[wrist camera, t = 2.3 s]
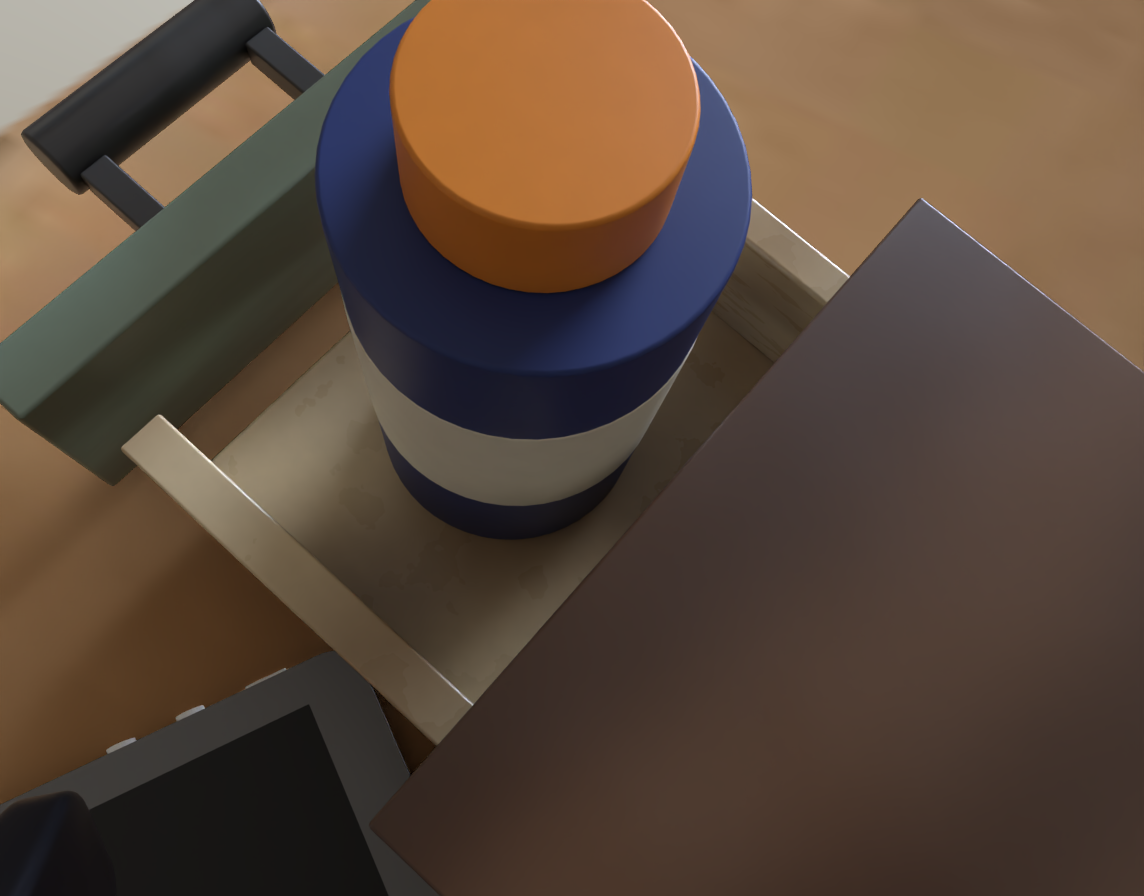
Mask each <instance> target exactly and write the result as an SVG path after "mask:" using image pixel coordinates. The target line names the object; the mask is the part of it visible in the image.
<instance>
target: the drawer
mask: <svg viewBox="0 0 1144 896" xmlns="http://www.w3.org/2000/svg"><path fill="white" fill-rule="evenodd" d="M430 1H431V0H415V1H414V2H413V3H412V4H410V5H409V6H408V7H407V8H406V9H404V10H403V11H402V12H401V13H400V14H398V15H397V16H396V17H395V18H393V19H392V20H391V21H390V22H389V23H387V24H386V25H385V26H384V27H383V28H381V29H380V30H379V31H378V32H377V33H375V34H374V35H373V36H372V37H370V38H369V39H368V40H367V41H366V42H364V43H363V44H362V45H361V46H360V47H358V48H357V49H356V50H355V51H354V52H352V53H351V54H350V55H349V56H347V57H346V58H345V59H344V60H343V61H341V62H340V63H339V64H338V65H337V66H335V67H334V68H333V69H332V70H331V71H329V72H328V73H327V74H326V75H324V74H323V73H322V72H321V71H319V70H318V69H317V68H316V67H315V66H314V65H312V64H311V63H310V62H309V61H308V60H306V59H305V58H304V57H303V56H302V55H300V54H299V53H298V52H297V51H296V50H295V49H293V48H292V47H291V46H290V45H289V44H287V43H286V42H285V41H284V40H283V39H281V38H280V37H279V36H278V35H277V34H276V30H275V27H274V24H273V22H272V20H271V18H270V16H269V14H268V12H267V11H266V9H265V8H264V6H263V5H262V3H261V2H260V1H259V0H194V1H193V2H192V3H190V4H189V5H188V6H186V7H185V8H184V9H182V10H181V11H180V12H178V13H177V14H176V15H175V16H173V17H172V18H171V19H169V20H168V21H167V22H165V23H164V24H163V25H161V26H160V27H159V28H157V29H156V30H155V31H153V32H152V33H151V34H149V35H148V36H147V37H146V38H144V39H143V40H142V41H140V42H139V43H138V44H136V45H135V46H134V47H132V48H131V49H130V50H128V51H127V52H126V53H124V54H123V55H122V56H120V57H119V58H118V59H117V60H115V61H114V62H113V63H111V64H110V65H109V66H107V67H106V68H105V69H103V70H102V71H101V72H99V73H98V74H97V75H95V76H94V77H93V78H91V79H90V80H89V81H88V82H86V83H85V84H84V85H82V86H81V87H80V88H78V89H77V90H76V91H74V92H73V93H72V94H70V95H69V96H68V97H66V98H65V99H64V100H62V101H61V102H60V103H59V104H57V105H56V106H55V107H53V108H52V109H51V110H49V111H48V112H47V113H45V114H44V115H43V116H41V117H40V118H39V119H37V120H36V121H35V122H33V123H32V124H31V125H30V126H28V127H27V128H26V129H24V130H23V132H22V134H21V135H22V138H23V140H24V142H25V143H26V145H27V146H28V147H29V149H30V150H31V151H32V152H33V153H34V155H35V156H36V157H37V158H38V159H39V160H40V161H41V162H42V164H43V165H44V166H45V167H46V168H47V169H48V170H49V171H50V172H51V173H52V174H53V175H54V176H55V177H56V178H57V179H58V180H59V181H60V182H61V183H63V184H64V185H65V186H66V187H67V188H68V189H70V190H71V191H72V192H74V193H76V194H78V195H80V194H83V193H85V192H86V191H87V190H88V189H90V190H91V191H92V192H93V193H94V194H95V195H96V196H97V197H98V198H99V199H100V200H102V201H103V202H104V203H105V204H106V205H107V206H108V207H109V208H110V209H112V210H113V211H114V212H115V213H116V214H117V215H118V216H119V217H120V218H122V219H123V220H124V221H125V222H126V223H127V224H128V225H129V226H131V227H132V228H133V229H134V230H135V231H136V232H134V233H133V234H132V235H131V236H130V237H128V238H127V239H126V240H125V241H124V242H122V243H121V244H120V245H119V246H118V247H116V248H115V249H114V250H113V251H111V252H110V253H109V254H108V255H107V256H105V257H104V258H103V259H102V260H101V261H99V262H98V263H97V264H96V265H95V266H93V267H92V268H91V269H90V270H88V271H87V272H86V273H85V274H84V275H82V276H81V277H80V278H79V279H78V280H76V281H75V282H74V283H73V284H72V285H70V286H69V287H68V288H67V289H65V290H64V291H63V292H62V293H61V294H59V295H58V296H57V297H56V298H55V299H53V300H52V301H51V302H50V303H49V304H47V305H46V306H45V307H44V308H42V309H41V310H40V311H39V312H38V313H36V314H35V315H34V316H33V317H32V318H30V319H29V320H28V321H27V322H26V323H24V324H23V325H22V326H21V327H19V328H18V329H17V330H16V331H15V332H13V333H12V334H11V335H10V336H9V337H7V338H6V339H5V340H4V341H3V342H1V343H0V404H1V405H2V406H3V407H4V408H5V409H6V410H8V411H9V412H10V413H11V414H12V415H13V416H14V417H15V418H16V419H17V420H19V421H20V422H21V423H23V424H24V425H26V426H27V427H28V428H30V429H31V430H33V431H34V432H35V433H37V434H38V435H40V436H41V437H43V438H44V439H45V440H47V441H48V442H50V443H51V444H52V445H54V446H55V447H57V448H58V449H59V450H61V451H62V452H64V453H65V454H66V455H68V456H69V457H71V458H72V459H74V460H75V461H76V462H78V463H79V464H81V465H82V466H83V467H85V468H86V469H88V470H89V471H90V472H92V473H93V474H95V475H96V476H97V477H99V478H100V479H102V480H103V481H105V482H106V483H107V484H109V485H111V486H115V485H116V484H117V483H119V482H120V481H121V480H122V479H123V478H124V477H125V476H126V475H127V474H128V473H130V472H131V471H132V470H133V469H134V468H135V467H136V466H138V467H139V468H140V469H141V470H142V471H143V472H144V473H145V474H147V475H148V476H149V477H150V478H151V479H152V480H153V481H154V482H155V483H156V484H157V485H158V486H159V487H160V488H161V489H163V490H164V491H165V492H166V493H167V494H168V495H169V496H170V497H171V498H172V499H173V500H174V501H175V502H176V503H177V504H179V505H180V506H181V507H182V508H183V509H184V510H185V511H186V512H187V513H188V514H189V515H190V516H191V517H192V518H193V519H195V520H196V521H197V522H198V523H199V524H200V525H201V526H202V527H203V528H204V529H205V530H206V531H207V532H208V533H209V534H211V535H212V536H213V537H214V538H215V539H216V540H217V541H218V542H219V543H220V544H221V545H222V546H223V547H224V548H225V549H227V550H228V551H229V552H230V553H231V554H232V555H233V556H234V557H235V558H236V559H237V560H238V561H239V562H240V563H241V564H243V565H244V566H245V567H246V568H247V569H248V570H249V571H250V572H251V573H252V574H253V575H254V576H255V577H256V578H257V579H259V580H260V581H261V582H262V583H263V584H264V585H265V586H266V587H267V588H268V589H269V590H270V591H271V592H272V593H273V594H275V595H276V596H277V597H278V598H279V599H280V600H281V601H282V602H283V603H284V604H285V605H286V606H287V607H288V608H289V609H291V610H292V611H293V612H294V613H295V614H296V615H297V616H298V617H299V618H300V619H301V620H302V621H303V622H304V623H305V624H307V625H308V626H309V627H310V628H311V629H312V630H313V631H314V632H315V633H316V634H317V635H318V636H319V637H320V638H321V639H323V640H324V641H325V642H326V643H327V644H328V645H329V646H330V647H331V648H332V649H333V650H334V651H335V652H336V653H337V654H339V655H340V656H341V657H342V658H343V659H344V660H345V661H346V662H347V663H348V664H349V665H350V666H351V667H352V668H353V669H355V670H356V671H357V672H358V673H359V674H360V675H361V676H362V677H363V678H364V679H365V680H366V681H367V682H368V683H369V684H371V685H372V686H373V687H374V688H375V689H376V690H377V691H378V692H379V693H380V694H381V695H382V696H383V697H384V698H385V699H387V700H388V701H389V702H390V703H391V704H392V705H393V706H394V707H395V708H396V709H397V710H398V711H399V712H400V713H401V714H403V715H404V716H405V717H406V718H407V719H408V720H409V721H410V722H411V723H412V724H413V725H414V726H415V727H416V728H417V729H419V730H420V731H421V732H422V733H423V734H424V735H425V736H426V737H427V738H428V739H429V740H430V741H431V742H432V743H433V744H435V745H436V746H437V745H438V744H439V743H440V742H441V741H442V739H443V738H444V737H445V736H446V735H447V734H448V733H449V731H450V730H451V729H452V728H453V727H454V726H455V725H456V724H457V722H458V721H459V720H460V719H461V718H462V717H463V716H464V714H465V713H466V712H467V711H468V710H469V709H470V708H471V706H472V705H473V704H474V703H475V702H476V701H477V700H478V699H479V697H480V696H481V695H482V694H483V693H484V692H485V691H486V689H487V688H488V687H489V686H490V685H491V684H492V683H493V682H494V680H495V679H496V678H497V677H498V676H499V675H500V674H501V672H502V671H503V670H504V669H505V668H506V667H507V666H508V664H509V663H510V662H511V661H512V660H513V659H514V658H515V657H516V655H517V654H518V653H519V652H520V651H521V650H522V649H523V647H524V646H525V645H526V644H527V643H528V642H529V641H530V639H531V638H532V637H533V636H534V635H535V634H536V633H537V632H538V630H539V629H540V628H541V627H542V626H543V625H544V624H545V622H546V621H547V620H548V619H549V618H550V617H551V616H552V615H553V613H554V612H555V611H556V610H557V609H558V608H559V607H560V605H561V604H562V603H563V602H564V601H565V600H566V599H567V597H568V596H569V595H570V594H571V593H572V592H573V591H574V590H575V588H576V587H577V586H578V585H579V584H580V583H581V582H582V580H583V579H584V578H585V577H586V576H587V575H588V574H589V572H590V571H591V570H592V569H593V568H594V567H595V566H596V565H597V563H598V562H599V561H600V560H601V559H602V558H603V557H604V555H605V554H606V553H607V552H608V551H609V550H610V549H611V548H612V546H613V545H614V544H615V543H616V542H617V541H618V540H619V538H620V537H621V536H622V535H623V534H624V533H625V532H626V530H627V529H628V528H629V527H630V526H631V525H632V524H633V523H634V521H635V520H636V519H637V518H638V517H639V516H640V515H641V513H642V512H643V511H644V510H645V509H646V508H647V507H648V505H649V504H650V503H651V502H652V501H653V500H654V499H655V498H656V496H657V495H658V494H659V493H660V492H661V491H662V490H663V488H664V487H665V486H666V485H667V484H668V483H669V482H670V480H671V479H672V478H673V477H674V476H675V475H676V474H677V473H678V471H679V470H680V469H681V468H682V467H683V466H684V465H685V463H686V462H687V461H688V460H689V459H690V458H691V457H692V456H693V454H694V453H695V452H696V451H697V450H698V449H699V448H700V446H701V445H702V444H703V443H704V442H705V441H706V440H707V438H708V437H709V436H710V435H711V434H712V433H713V432H714V431H715V429H716V428H717V427H718V426H719V425H720V424H721V423H722V421H723V420H724V419H725V418H726V417H727V416H728V415H729V413H730V412H731V411H732V410H733V409H734V408H735V407H736V406H737V404H738V403H739V402H740V401H741V400H742V399H743V398H744V396H745V395H746V394H747V393H748V392H749V391H750V390H751V389H752V387H753V386H754V385H755V384H756V383H757V382H758V381H759V379H760V378H761V377H762V376H763V375H764V374H765V373H766V371H767V370H768V369H769V368H770V367H771V366H772V365H773V364H774V362H775V361H776V360H777V359H778V358H779V357H780V356H781V354H782V353H783V352H784V351H785V350H786V349H787V348H788V346H789V345H790V344H791V343H792V342H793V341H794V340H795V339H796V337H797V336H798V335H799V334H800V333H801V332H802V331H803V329H804V328H805V327H806V326H807V325H808V324H809V323H810V322H811V320H812V319H813V318H814V317H815V316H816V315H817V314H818V312H819V311H820V310H821V309H822V308H823V307H824V306H825V304H826V303H827V302H828V301H829V300H830V299H831V298H832V297H833V295H834V294H835V293H836V292H837V291H838V290H839V289H840V287H841V286H842V285H843V284H844V283H845V282H846V281H847V279H848V278H849V277H850V276H849V275H848V274H846V273H845V272H844V271H843V270H842V269H840V268H839V267H838V266H837V265H835V264H834V263H833V262H832V261H830V260H829V259H828V258H827V257H825V256H824V255H823V254H822V253H820V252H819V251H818V250H817V249H815V248H814V247H813V246H812V245H810V244H809V243H808V242H807V241H805V240H804V239H803V238H802V237H801V236H799V235H798V234H797V233H796V232H794V231H793V230H792V229H791V228H789V227H788V226H787V225H786V224H784V223H783V222H782V221H781V220H779V219H778V218H777V217H776V216H774V215H773V214H772V213H771V212H769V211H768V210H767V209H766V208H765V207H763V206H762V205H761V204H760V203H758V202H757V201H756V200H755V199H753V198H752V204H751V216H750V224H749V228H748V232H747V236H746V241H745V245H744V248H743V250H742V253H741V255H740V258H739V260H738V263H737V265H736V268H735V270H734V272H733V273H732V275H731V277H730V279H729V281H728V282H727V284H726V286H725V288H724V290H723V291H722V293H721V295H720V297H719V299H718V300H717V302H716V304H715V306H714V308H713V309H712V311H711V313H710V315H709V317H708V318H707V320H706V322H705V324H704V326H703V327H702V329H701V331H700V333H699V335H698V337H697V339H696V342H695V344H694V347H693V349H692V350H691V352H690V354H689V356H688V358H687V359H686V361H685V363H684V365H683V366H682V368H681V370H680V372H679V374H678V375H677V377H676V379H675V381H674V383H673V384H672V386H671V388H670V390H669V392H668V393H667V395H666V397H665V399H664V400H663V402H662V404H661V406H660V408H659V409H658V411H657V413H656V415H655V417H654V418H653V420H652V422H651V424H650V425H649V427H648V429H647V431H646V432H645V434H644V436H643V438H642V439H641V441H640V443H639V444H638V446H637V447H636V448H635V450H634V452H633V454H632V455H631V457H630V459H629V461H628V463H627V464H626V466H625V468H624V470H623V472H622V473H621V475H620V477H619V478H618V480H617V482H616V484H615V485H614V487H613V488H612V489H611V491H610V492H609V493H608V494H607V496H606V497H605V498H604V499H603V500H602V501H601V502H600V503H599V504H598V505H597V506H596V507H595V508H594V509H593V510H592V511H591V512H589V513H588V514H586V515H585V516H584V517H582V518H581V519H580V520H578V521H576V522H574V523H573V524H571V525H569V526H567V527H565V528H563V529H560V530H558V531H555V532H553V533H550V534H546V535H542V536H538V537H534V538H526V539H517V540H508V539H493V538H487V537H481V536H477V535H474V534H470V533H467V532H464V531H462V530H460V529H457V528H455V527H453V526H450V525H449V524H447V523H445V522H443V521H442V520H440V519H438V518H437V517H435V516H434V515H433V514H431V513H430V512H429V511H428V510H426V509H425V508H424V507H423V506H422V505H421V504H420V503H419V502H418V501H417V500H416V499H415V498H414V497H413V496H412V495H411V494H410V493H409V491H408V490H407V489H406V487H405V486H404V484H403V483H402V482H401V480H400V478H399V476H398V475H397V473H396V471H395V469H394V467H393V465H392V462H391V459H390V457H389V454H388V451H387V448H386V444H385V441H384V438H383V434H382V431H381V427H380V424H379V420H378V417H377V415H376V412H375V409H374V407H373V404H372V401H371V397H370V394H369V391H368V387H367V384H366V380H365V377H364V374H363V370H362V367H361V364H360V360H359V357H358V353H357V350H356V347H355V343H354V340H353V336H352V333H351V330H350V331H349V332H348V333H347V334H346V335H345V336H344V337H343V338H342V339H341V340H339V341H338V342H337V343H336V344H335V345H334V346H333V347H332V348H331V349H330V350H329V351H328V352H327V353H326V354H324V355H323V356H322V357H321V358H320V359H319V360H318V361H317V362H316V363H315V364H314V365H313V366H312V367H311V368H309V369H308V370H307V371H306V372H305V373H304V374H303V375H302V376H301V377H300V378H299V379H298V380H297V381H296V382H295V383H293V384H292V385H291V386H290V387H289V388H288V389H287V390H286V391H285V392H284V393H283V394H282V395H281V396H280V397H278V398H277V399H276V400H275V401H274V402H273V403H272V404H271V405H270V406H269V407H268V408H267V409H266V410H265V411H263V412H262V413H261V414H260V415H259V416H258V417H257V418H256V419H255V420H254V421H253V422H252V423H251V424H250V425H248V426H247V427H246V428H245V429H244V430H243V431H242V432H241V433H240V434H239V435H238V436H237V437H236V438H235V439H234V440H232V441H231V442H230V443H229V444H228V445H227V446H226V447H225V448H224V449H223V450H222V451H221V452H220V453H219V454H217V455H216V456H215V457H214V458H213V459H212V460H210V459H208V458H207V457H206V456H205V455H204V454H203V453H202V452H201V451H200V450H199V449H198V448H197V447H195V446H194V445H193V444H192V443H191V442H190V441H189V440H188V439H187V438H186V437H185V436H184V435H182V434H181V433H180V432H179V431H178V430H177V429H178V428H179V427H180V426H181V425H182V424H183V423H184V422H185V421H187V420H188V419H189V418H190V417H191V416H192V415H193V414H194V413H195V412H196V411H198V410H199V409H200V408H201V407H202V406H203V405H204V404H205V403H206V402H207V401H209V400H210V399H211V398H212V397H213V396H214V395H215V394H216V393H217V392H218V391H220V390H221V389H222V388H223V387H224V386H225V385H226V384H227V383H228V382H229V381H230V380H232V379H233V378H234V377H235V376H236V375H237V374H238V373H239V372H240V371H241V370H243V369H244V368H245V367H246V366H247V365H248V364H249V363H250V362H251V361H252V360H254V359H255V358H256V357H257V356H258V355H259V354H260V353H261V352H262V351H263V350H265V349H266V348H267V347H268V346H269V345H270V344H271V343H272V342H273V341H274V340H275V339H277V338H278V337H279V336H280V335H281V334H282V333H283V332H284V331H285V330H286V329H288V328H289V327H290V326H291V325H292V324H293V323H294V322H295V321H296V320H297V319H299V318H300V317H301V316H302V315H303V314H304V313H305V312H306V311H307V310H308V309H309V308H311V307H312V306H313V305H314V304H315V303H316V302H317V301H318V300H319V299H320V298H322V297H323V296H324V295H325V294H326V293H327V292H328V291H329V290H330V289H331V288H333V287H334V286H335V285H336V284H337V283H338V279H337V276H336V272H335V269H334V266H333V262H332V259H331V255H330V252H329V248H328V245H327V242H326V238H325V235H324V231H323V228H322V224H321V219H320V215H319V210H318V206H317V201H316V190H315V175H314V174H315V162H316V150H317V145H318V141H319V137H320V132H321V128H322V124H323V122H324V119H325V117H326V114H327V112H328V109H329V107H330V104H331V102H332V100H333V98H334V96H335V94H336V93H337V91H338V89H339V88H340V86H341V84H342V83H343V81H344V79H345V77H346V76H347V75H348V74H349V72H350V71H351V70H352V69H353V67H354V66H355V65H356V64H357V62H358V61H359V60H360V59H361V57H362V56H363V55H364V54H365V53H366V52H368V51H369V50H370V49H371V48H372V47H373V46H374V45H375V44H376V43H377V42H378V41H379V40H380V39H382V38H383V37H384V36H386V35H387V34H388V33H390V32H391V31H393V30H394V29H395V28H397V27H398V26H399V25H401V24H403V23H405V22H406V21H408V20H410V19H412V18H414V17H415V16H417V14H418V13H419V12H420V11H421V9H422V8H423V7H424V6H426V5H427V4H428V3H429V2H430ZM250 60H251V63H252V64H253V65H254V66H255V67H257V68H258V69H259V70H260V71H261V72H262V73H264V74H265V75H266V76H267V77H268V78H270V79H271V80H272V81H273V82H274V83H275V84H277V85H278V86H279V87H280V88H281V89H282V90H284V91H285V92H286V93H287V94H288V95H289V96H291V97H292V98H293V99H294V101H293V102H292V103H291V104H289V105H288V106H287V107H286V108H285V109H283V110H282V111H281V112H280V113H278V114H277V115H276V116H275V117H274V118H272V119H271V120H270V121H269V122H268V123H266V124H265V125H264V126H263V127H262V128H260V129H259V130H258V131H257V132H255V133H254V134H253V135H252V136H251V137H249V138H248V139H247V140H246V141H245V142H243V143H242V144H241V145H240V146H239V147H237V148H236V149H235V150H234V151H232V152H231V153H230V154H229V155H228V156H226V157H225V158H224V159H223V160H222V161H220V162H219V163H218V164H217V165H216V166H214V167H213V168H212V169H211V170H209V171H208V172H207V173H206V174H205V175H203V176H202V177H201V178H200V179H199V180H197V181H196V182H195V183H194V184H193V185H191V186H190V187H189V188H188V189H186V190H185V191H184V192H183V193H182V194H180V195H179V196H178V197H177V198H176V199H174V200H173V201H172V202H171V203H170V204H168V205H167V206H166V207H164V206H163V205H162V204H161V203H159V202H158V201H157V200H156V199H155V198H154V197H153V196H152V195H150V194H149V193H148V192H147V191H146V190H145V189H144V188H143V187H141V186H140V185H139V184H138V183H137V182H136V181H135V180H134V179H132V178H131V177H130V176H129V175H128V174H127V173H126V172H125V171H123V170H122V169H121V168H120V167H119V165H120V164H121V163H122V162H124V161H125V160H126V159H127V158H129V157H130V156H131V155H132V154H134V153H135V152H136V151H137V150H139V149H140V148H141V147H142V146H144V145H145V144H146V143H147V142H149V141H150V140H151V139H152V138H154V137H155V136H156V135H157V134H159V133H160V132H161V131H162V130H164V129H165V128H166V127H167V126H169V125H170V124H171V123H172V122H174V121H175V120H176V119H177V118H179V117H180V116H181V115H183V114H184V113H185V112H186V111H188V110H189V109H190V108H191V107H193V106H194V105H195V104H196V103H198V102H199V101H200V100H201V99H203V98H204V97H205V96H206V95H208V94H209V93H210V92H211V91H213V90H214V89H215V88H216V87H218V86H219V85H220V84H221V83H223V82H224V81H225V80H226V79H228V78H229V77H230V76H231V75H233V74H234V73H235V72H236V71H238V70H239V69H240V68H241V67H243V66H244V65H245V64H246V63H248V62H249V61H250Z"/></svg>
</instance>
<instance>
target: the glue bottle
mask: <svg viewBox="0 0 1144 896" xmlns="http://www.w3.org/2000/svg"><path fill="white" fill-rule="evenodd" d="M314 175H315V190H316V201H317V206H318V210H319V215H320V219H321V224H322V228H323V231H324V235H325V238H326V242H327V245H328V248H329V252H330V255H331V259H332V262H333V266H334V269H335V272H336V276H337V279H338V283H339V286H340V290H341V294H342V299H343V303H344V308H345V312H346V316H347V319H348V323H349V326H350V330H351V333H352V336H353V340H354V343H355V347H356V350H357V353H358V357H359V360H360V364H361V367H362V370H363V374H364V377H365V380H366V384H367V387H368V391H369V394H370V397H371V401H372V404H373V407H374V409H375V412H376V415H377V417H378V420H379V424H380V427H381V431H382V434H383V438H384V441H385V444H386V448H387V451H388V454H389V457H390V459H391V462H392V465H393V467H394V469H395V471H396V473H397V475H398V476H399V478H400V480H401V482H402V483H403V484H404V486H405V487H406V489H407V490H408V491H409V493H410V494H411V495H412V496H413V497H414V498H415V499H416V500H417V501H418V502H419V503H420V504H421V505H422V506H423V507H424V508H425V509H426V510H428V511H429V512H430V513H431V514H433V515H434V516H435V517H437V518H438V519H440V520H442V521H443V522H445V523H447V524H449V525H450V526H453V527H455V528H457V529H460V530H462V531H464V532H467V533H470V534H474V535H477V536H481V537H487V538H493V539H508V540H517V539H526V538H534V537H538V536H542V535H546V534H550V533H553V532H555V531H558V530H560V529H563V528H565V527H567V526H569V525H571V524H573V523H574V522H576V521H578V520H580V519H581V518H582V517H584V516H585V515H586V514H588V513H589V512H591V511H592V510H593V509H594V508H595V507H596V506H597V505H598V504H599V503H600V502H601V501H602V500H603V499H604V498H605V497H606V496H607V494H608V493H609V492H610V491H611V489H612V488H613V487H614V485H615V484H616V482H617V480H618V478H619V477H620V475H621V473H622V472H623V470H624V468H625V466H626V464H627V463H628V461H629V459H630V457H631V455H632V454H633V452H634V450H635V448H636V447H637V446H638V444H639V443H640V441H641V439H642V438H643V436H644V434H645V432H646V431H647V429H648V427H649V425H650V424H651V422H652V420H653V418H654V417H655V415H656V413H657V411H658V409H659V408H660V406H661V404H662V402H663V400H664V399H665V397H666V395H667V393H668V392H669V390H670V388H671V386H672V384H673V383H674V381H675V379H676V377H677V375H678V374H679V372H680V370H681V368H682V366H683V365H684V363H685V361H686V359H687V358H688V356H689V354H690V352H691V350H692V349H693V347H694V344H695V342H696V339H697V337H698V335H699V333H700V331H701V329H702V327H703V326H704V324H705V322H706V320H707V318H708V317H709V315H710V313H711V311H712V309H713V308H714V306H715V304H716V302H717V300H718V299H719V297H720V295H721V293H722V291H723V290H724V288H725V286H726V284H727V282H728V281H729V279H730V277H731V275H732V273H733V272H734V270H735V268H736V265H737V263H738V260H739V258H740V255H741V253H742V250H743V248H744V245H745V241H746V236H747V232H748V228H749V224H750V216H751V204H752V186H751V171H750V166H749V161H748V157H747V152H746V147H745V144H744V141H743V138H742V135H741V132H740V130H739V127H738V124H737V121H736V119H735V118H734V116H733V114H732V112H731V110H730V108H729V106H728V104H727V102H726V100H725V98H724V97H723V96H722V94H721V93H720V91H719V90H718V88H717V87H716V85H715V84H714V82H713V81H712V80H711V78H710V77H709V76H708V75H707V74H706V73H705V71H704V70H703V69H702V68H701V67H700V66H699V65H698V64H697V62H696V61H695V60H694V59H693V58H692V57H690V56H689V54H688V52H687V50H686V48H685V46H684V44H683V42H682V40H681V39H680V37H679V36H678V35H677V33H676V32H675V30H674V29H673V27H672V26H671V25H670V24H669V23H668V21H667V20H666V19H665V18H664V17H663V16H662V15H661V14H660V12H658V11H657V10H656V9H655V8H654V7H653V6H652V5H651V4H649V3H648V2H647V1H646V0H431V1H430V2H429V3H428V4H427V5H426V6H424V7H423V8H422V9H421V11H420V12H419V13H418V14H417V16H415V17H414V18H412V19H410V20H408V21H406V22H405V23H403V24H401V25H399V26H398V27H397V28H395V29H394V30H393V31H391V32H390V33H388V34H387V35H386V36H384V37H383V38H382V39H380V40H379V41H378V42H377V43H376V44H375V45H374V46H373V47H372V48H371V49H370V50H369V51H368V52H366V53H365V54H364V55H363V56H362V57H361V59H360V60H359V61H358V62H357V64H356V65H355V66H354V67H353V69H352V70H351V71H350V72H349V74H348V75H347V76H346V77H345V79H344V81H343V83H342V84H341V86H340V88H339V89H338V91H337V93H336V94H335V96H334V98H333V100H332V102H331V104H330V107H329V109H328V112H327V114H326V117H325V119H324V122H323V124H322V128H321V132H320V137H319V141H318V145H317V150H316V162H315V174H314Z"/></svg>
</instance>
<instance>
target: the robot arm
mask: <svg viewBox="0 0 1144 896" xmlns="http://www.w3.org/2000/svg"><path fill="white" fill-rule="evenodd" d="M0 896H116V879H115V873H114V868H113V865H112V862H111V859H110V857H109V855H108V853H107V850H106V848H105V846H104V843H103V841H102V839H101V837H100V834H99V832H98V830H97V828H96V825H95V823H94V821H93V819H92V816H91V814H90V812H89V809H88V807H87V805H86V803H85V801H84V800H83V798H82V797H81V796H80V795H79V794H78V793H76V792H74V791H61V792H55V793H50V794H45V795H40V796H35V797H30V798H25V799H21V800H18V801H16V802H14V803H13V804H11V805H10V806H8V807H7V808H6V809H5V810H4V811H3V812H2V813H1V814H0Z"/></svg>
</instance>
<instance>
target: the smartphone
mask: <svg viewBox="0 0 1144 896" xmlns="http://www.w3.org/2000/svg"><path fill="white" fill-rule="evenodd" d="M245 688H246V689H245V690H243V691H241V692H239V693H236V694H234V695H232V696H230V697H228V698H226V699H224V700H222V701H219V702H217V703H215V704H213V705H211V706H209V707H207V708H204V705H202V706H198V707H195V708H193V709H190V710H188V711H186V712H184V713H182V714H180V715H178V716H177V717H176V721H177V722H175V723H173V724H171V725H168V726H166V727H164V728H162V729H160V730H158V731H156V732H154V733H151V734H149V735H147V736H145V737H143V738H141V739H139V740H137V741H136V739H135V737H134V738H130V739H127V740H125V741H122V742H120V743H118V744H115V745H113V746H111V747H110V748H108V749H107V750H106V752H107V755H105V756H103V757H101V758H98V759H96V760H94V761H92V762H90V763H88V764H86V765H84V766H81V767H79V768H77V769H75V770H73V771H71V772H69V773H67V774H64V775H62V776H60V777H58V778H56V779H54V780H52V781H50V782H47V783H45V784H43V785H41V786H39V787H37V788H35V789H33V790H30V791H28V792H26V793H24V794H22V795H20V796H18V797H16V798H14V799H11V800H9V801H7V802H5V803H3V804H1V805H0V814H1V813H2V812H3V811H4V810H5V809H6V808H7V807H8V806H10V805H11V804H13V803H14V802H16V801H18V800H21V799H25V798H30V797H35V796H40V795H45V794H50V793H55V792H61V791H74V792H76V793H78V794H79V795H80V796H81V797H82V798H83V800H84V801H85V803H86V805H87V807H88V809H89V812H90V814H91V816H92V819H93V821H94V823H95V825H96V828H97V830H98V832H99V834H100V837H101V839H102V841H103V843H104V846H105V848H106V850H107V853H108V855H109V857H110V859H111V862H112V865H113V868H114V873H115V879H116V896H440V895H439V894H438V893H436V892H435V891H434V890H433V889H432V888H431V887H430V886H429V885H428V884H427V883H426V882H425V881H424V880H423V879H422V878H421V877H420V876H419V875H418V874H417V873H416V872H415V871H414V870H413V869H412V868H410V867H409V866H408V865H407V864H406V863H405V862H404V861H403V860H402V859H401V858H400V857H399V856H398V855H397V854H396V853H395V852H394V851H393V850H392V849H391V848H390V847H389V846H388V845H387V844H386V843H384V842H383V841H382V840H381V839H380V838H379V837H378V836H377V835H376V834H375V833H374V832H373V831H372V830H371V829H370V827H369V823H370V821H371V820H372V819H373V818H374V817H375V816H376V814H377V813H378V812H379V811H380V810H381V809H382V808H383V806H384V805H385V804H386V803H387V802H388V801H389V800H390V798H391V797H392V796H393V795H394V794H395V793H396V792H397V791H398V789H399V788H400V787H401V786H402V785H403V784H404V783H405V781H406V780H407V779H408V778H409V777H410V776H411V775H410V773H409V770H408V768H407V766H406V763H405V761H404V759H403V756H402V754H401V752H400V750H399V747H398V745H397V743H396V740H395V738H394V736H393V733H392V731H391V729H390V726H389V724H388V722H387V719H386V717H385V715H384V713H383V710H382V708H381V706H380V703H379V701H378V699H377V696H376V694H375V692H374V689H373V687H372V685H371V684H369V683H368V682H367V681H366V680H365V679H364V678H363V677H362V676H361V675H360V674H359V673H358V672H357V671H356V670H355V669H353V668H352V667H351V666H350V665H349V664H348V663H347V662H346V661H345V660H344V659H343V658H342V657H341V656H340V655H339V654H337V653H336V652H335V651H330V652H326V653H323V654H320V655H317V656H315V657H313V658H311V659H309V660H306V661H304V662H302V663H300V664H298V665H296V666H294V667H292V668H289V669H287V670H286V668H284V669H282V670H279V671H277V672H275V673H273V674H271V675H269V676H267V677H265V678H262V679H260V680H258V681H256V682H254V683H252V684H250V685H248V686H246V687H245Z"/></svg>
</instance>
